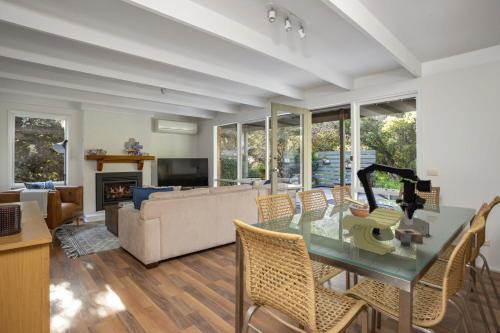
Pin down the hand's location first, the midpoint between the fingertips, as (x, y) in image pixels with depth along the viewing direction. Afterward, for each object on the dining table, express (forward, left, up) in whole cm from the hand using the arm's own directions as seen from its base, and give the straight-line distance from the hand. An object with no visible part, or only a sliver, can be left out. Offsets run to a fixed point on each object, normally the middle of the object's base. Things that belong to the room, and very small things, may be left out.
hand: (408, 218), depth 150 cm
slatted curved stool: (-25, -16, -12) cm, 32 cm away
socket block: (0, 0, -11) cm, 11 cm away
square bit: (0, 0, -3) cm, 3 cm away
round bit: (-7, -11, -11) cm, 17 cm away
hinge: (+11, +15, -12) cm, 22 cm away
